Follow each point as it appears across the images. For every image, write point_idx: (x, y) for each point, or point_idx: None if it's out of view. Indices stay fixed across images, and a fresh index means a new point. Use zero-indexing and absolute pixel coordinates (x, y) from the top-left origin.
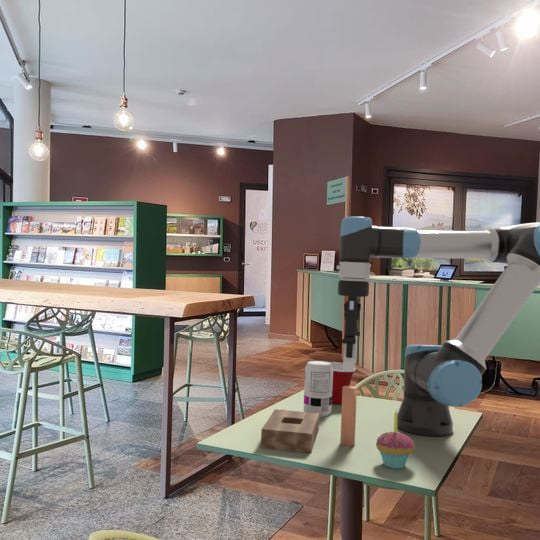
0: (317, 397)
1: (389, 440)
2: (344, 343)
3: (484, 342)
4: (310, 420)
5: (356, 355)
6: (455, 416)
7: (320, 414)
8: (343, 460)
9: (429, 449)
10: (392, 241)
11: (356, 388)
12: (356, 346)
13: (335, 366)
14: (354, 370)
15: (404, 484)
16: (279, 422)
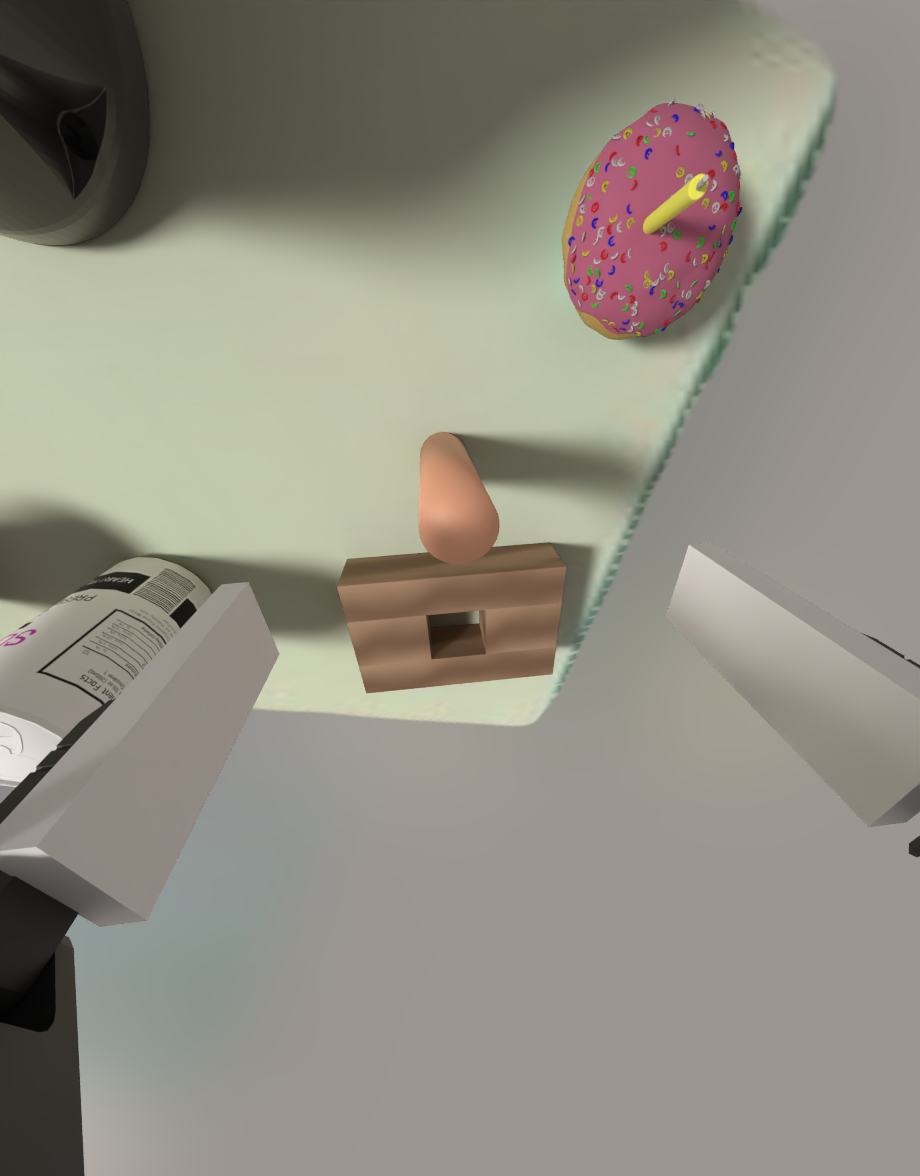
0: (177, 628)
1: (709, 266)
2: (905, 816)
3: None
4: (434, 594)
5: (220, 617)
6: None
7: (203, 583)
8: (588, 451)
9: (367, 18)
10: None
11: (468, 489)
12: (163, 694)
13: None
14: (712, 547)
15: (780, 218)
16: (485, 656)
